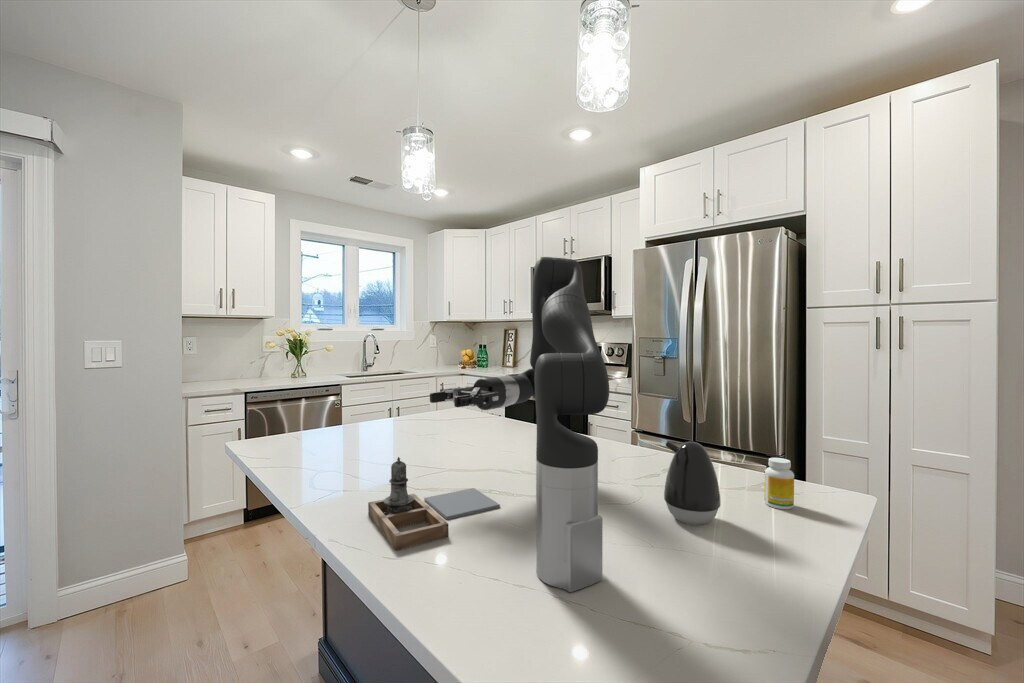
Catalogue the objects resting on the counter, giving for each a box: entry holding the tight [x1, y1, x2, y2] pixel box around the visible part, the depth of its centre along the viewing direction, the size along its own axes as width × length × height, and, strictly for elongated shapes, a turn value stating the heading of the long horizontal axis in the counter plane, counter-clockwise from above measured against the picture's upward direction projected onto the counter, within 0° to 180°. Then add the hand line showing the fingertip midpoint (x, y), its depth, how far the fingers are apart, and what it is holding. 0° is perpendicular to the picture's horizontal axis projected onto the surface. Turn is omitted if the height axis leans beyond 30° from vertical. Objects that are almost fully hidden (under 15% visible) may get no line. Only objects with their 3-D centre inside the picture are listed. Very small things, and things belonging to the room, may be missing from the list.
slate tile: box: [423, 487, 501, 521], centre depth 97 cm, size 12×12×1 cm
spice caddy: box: [367, 493, 449, 551], centre depth 86 cm, size 18×10×2 cm, turn 32°
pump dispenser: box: [663, 441, 721, 526], centre depth 89 cm, size 10×10×15 cm
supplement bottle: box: [763, 457, 795, 511], centre depth 96 cm, size 5×5×10 cm
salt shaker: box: [383, 456, 414, 515], centre depth 90 cm, size 6×6×12 cm
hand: (442, 400), depth 98 cm, fingers open, 8 cm apart
